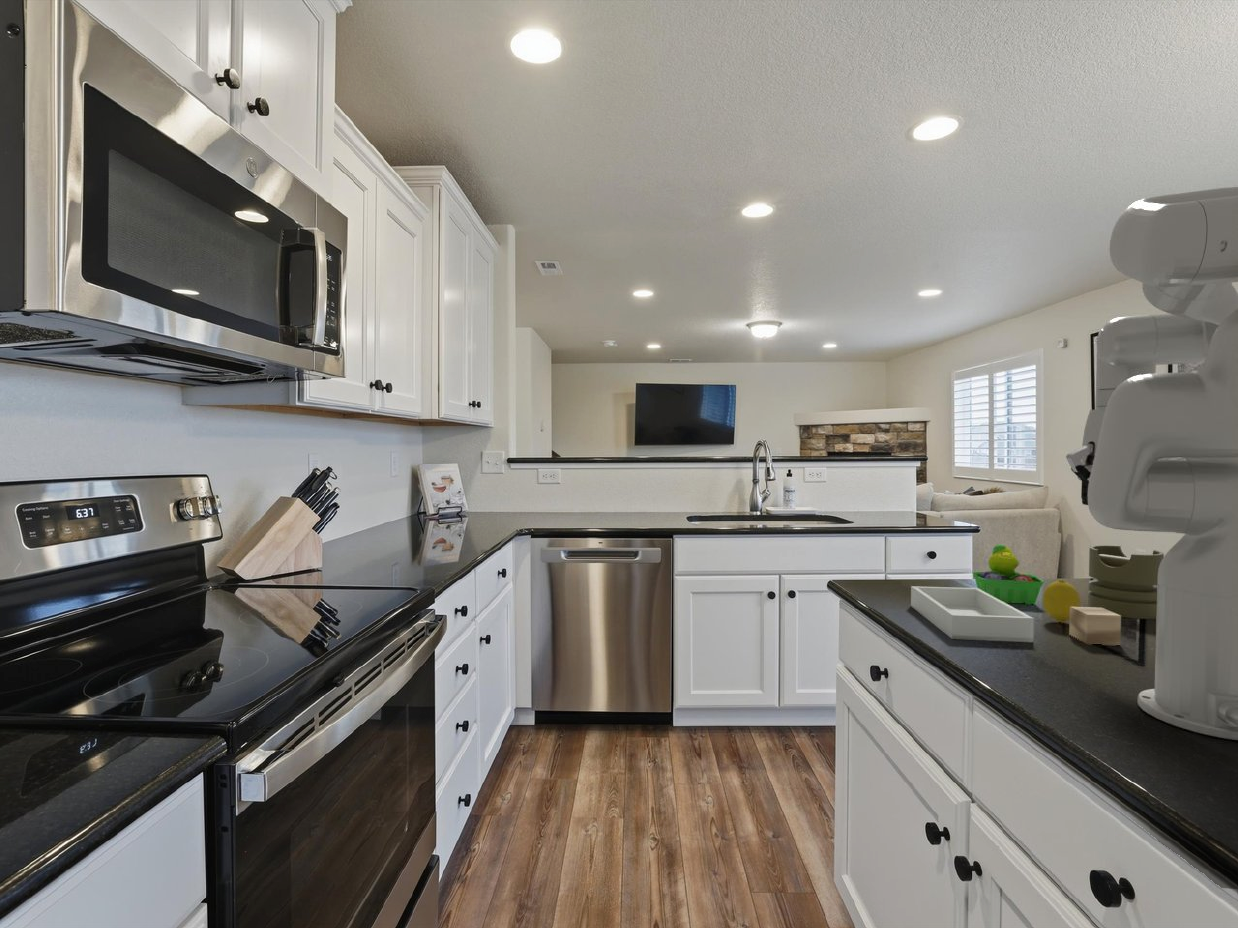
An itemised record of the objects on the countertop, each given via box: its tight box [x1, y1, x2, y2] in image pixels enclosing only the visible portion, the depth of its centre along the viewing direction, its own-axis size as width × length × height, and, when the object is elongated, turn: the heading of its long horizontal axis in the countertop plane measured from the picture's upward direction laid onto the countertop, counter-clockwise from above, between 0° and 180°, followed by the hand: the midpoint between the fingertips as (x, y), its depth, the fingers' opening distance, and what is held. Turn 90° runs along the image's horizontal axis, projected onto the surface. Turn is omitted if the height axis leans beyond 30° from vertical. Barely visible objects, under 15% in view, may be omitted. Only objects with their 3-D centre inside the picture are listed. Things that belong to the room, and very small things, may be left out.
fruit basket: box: [972, 544, 1044, 605], centre depth 132 cm, size 11×9×11 cm
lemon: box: [1042, 579, 1081, 624], centre depth 114 cm, size 6×6×8 cm
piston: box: [1087, 544, 1165, 620], centre depth 123 cm, size 11×12×11 cm
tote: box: [910, 585, 1035, 643], centre depth 115 cm, size 22×13×4 cm, turn 172°
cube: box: [1068, 606, 1122, 646], centre depth 105 cm, size 5×5×5 cm
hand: (1120, 505), depth 103 cm, fingers open, 9 cm apart
